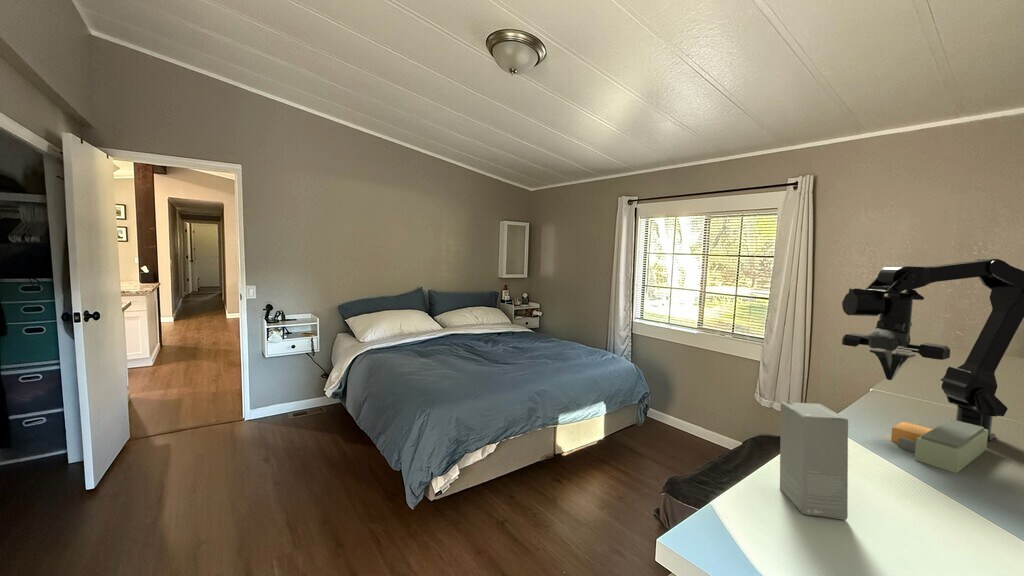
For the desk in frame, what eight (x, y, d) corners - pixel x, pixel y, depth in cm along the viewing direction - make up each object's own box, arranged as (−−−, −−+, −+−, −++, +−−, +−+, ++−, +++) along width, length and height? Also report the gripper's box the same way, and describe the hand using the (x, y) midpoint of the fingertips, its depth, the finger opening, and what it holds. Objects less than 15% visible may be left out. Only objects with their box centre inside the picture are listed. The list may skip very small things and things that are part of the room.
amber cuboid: (901, 435, 97) (902, 421, 96) (937, 445, 91) (938, 430, 91) (890, 441, 93) (892, 427, 93) (927, 452, 88) (928, 437, 88)
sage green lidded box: (923, 432, 98) (925, 412, 98) (986, 449, 90) (988, 427, 89) (888, 451, 87) (891, 428, 87) (956, 473, 78) (959, 447, 78)
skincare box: (848, 522, 62) (857, 420, 61) (796, 515, 63) (804, 415, 62) (818, 491, 70) (825, 402, 69) (772, 486, 72) (779, 398, 71)
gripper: (834, 314, 103) (830, 374, 104) (938, 324, 87) (931, 395, 88) (853, 312, 109) (848, 369, 110) (953, 321, 93) (947, 388, 94)
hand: (889, 379), depth 100 cm, fingers closed
